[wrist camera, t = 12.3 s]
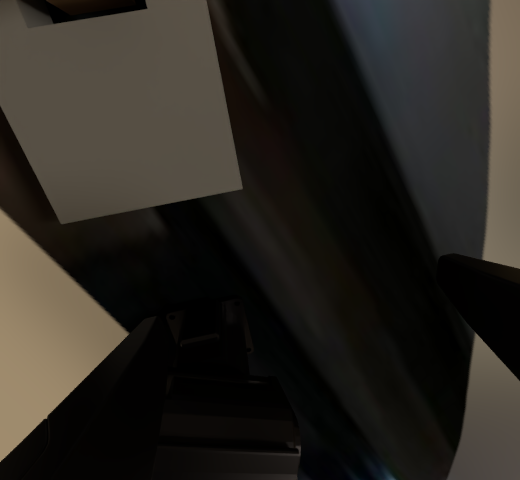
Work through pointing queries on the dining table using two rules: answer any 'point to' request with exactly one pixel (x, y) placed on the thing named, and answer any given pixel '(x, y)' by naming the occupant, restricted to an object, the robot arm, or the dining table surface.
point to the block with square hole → (117, 106)
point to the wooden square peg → (89, 5)
